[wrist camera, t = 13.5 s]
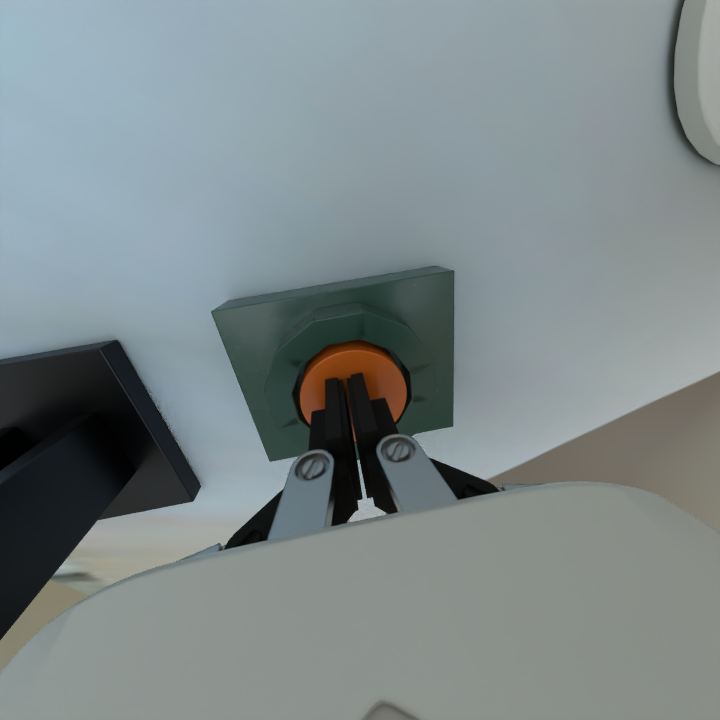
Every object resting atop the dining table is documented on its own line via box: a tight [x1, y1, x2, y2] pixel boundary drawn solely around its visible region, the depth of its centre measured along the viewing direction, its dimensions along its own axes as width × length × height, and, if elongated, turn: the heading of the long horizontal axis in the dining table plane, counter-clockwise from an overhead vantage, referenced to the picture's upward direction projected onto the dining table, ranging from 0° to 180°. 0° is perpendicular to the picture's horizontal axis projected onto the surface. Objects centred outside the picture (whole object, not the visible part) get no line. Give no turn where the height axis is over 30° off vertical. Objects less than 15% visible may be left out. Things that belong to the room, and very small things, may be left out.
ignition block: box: [211, 266, 454, 462], centre depth 14 cm, size 11×9×4 cm
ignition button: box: [300, 340, 407, 442], centre depth 13 cm, size 5×5×2 cm
